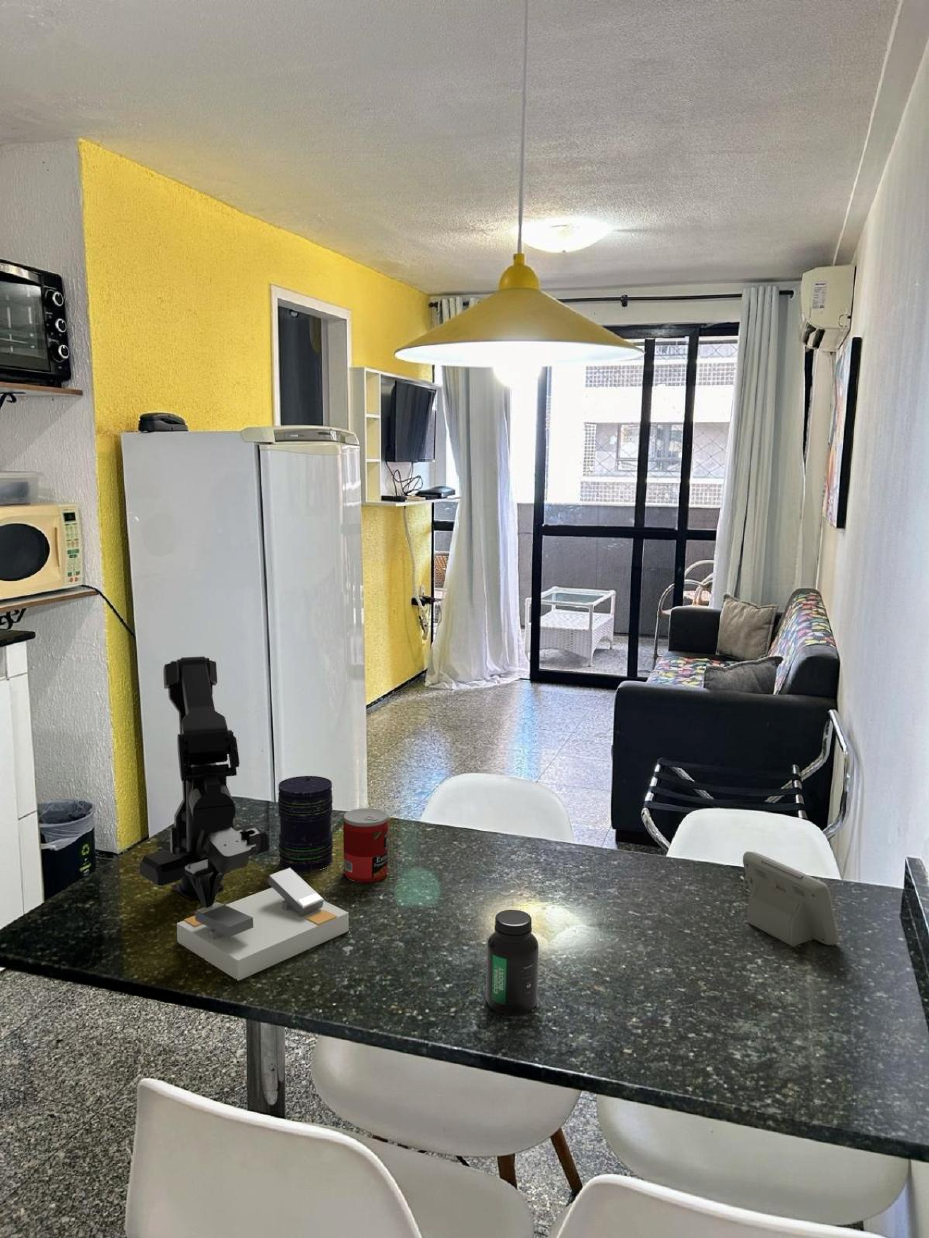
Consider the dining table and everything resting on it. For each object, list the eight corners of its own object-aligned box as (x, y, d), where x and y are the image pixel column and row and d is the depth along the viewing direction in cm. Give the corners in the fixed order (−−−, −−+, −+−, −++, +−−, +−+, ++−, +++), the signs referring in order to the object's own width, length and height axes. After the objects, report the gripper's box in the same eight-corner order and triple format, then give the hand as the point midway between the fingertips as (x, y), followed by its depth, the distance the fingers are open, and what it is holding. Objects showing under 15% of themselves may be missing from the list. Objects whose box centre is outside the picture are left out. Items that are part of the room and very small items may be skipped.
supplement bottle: (499, 1021, 115) (501, 933, 114) (477, 994, 121) (479, 910, 120) (546, 1009, 118) (548, 923, 116) (522, 984, 124) (524, 902, 123)
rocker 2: (267, 882, 142) (269, 874, 141) (288, 875, 145) (290, 867, 144) (301, 915, 137) (303, 907, 136) (322, 907, 140) (324, 898, 139)
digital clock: (844, 949, 135) (849, 882, 134) (794, 958, 132) (799, 889, 131) (775, 903, 150) (779, 842, 149) (729, 910, 148) (733, 848, 146)
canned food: (381, 885, 155) (381, 824, 154) (337, 880, 157) (336, 820, 156) (393, 867, 163) (393, 809, 161) (351, 863, 164) (351, 806, 163)
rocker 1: (195, 920, 133) (194, 909, 132) (218, 911, 136) (218, 901, 135) (229, 937, 127) (228, 926, 126) (253, 927, 129) (252, 916, 129)
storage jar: (328, 873, 160) (327, 793, 158) (273, 872, 160) (272, 792, 158) (336, 851, 170) (336, 775, 168) (285, 851, 170) (284, 775, 168)
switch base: (177, 941, 135) (176, 915, 134) (285, 899, 149) (285, 875, 149) (238, 980, 124) (237, 952, 124) (348, 930, 139) (348, 905, 138)
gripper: (178, 839, 119) (179, 949, 122) (291, 806, 133) (291, 905, 135) (136, 817, 127) (138, 921, 129) (248, 788, 141) (248, 882, 143)
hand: (207, 907), depth 134 cm, fingers closed, pressing on rocker 1
